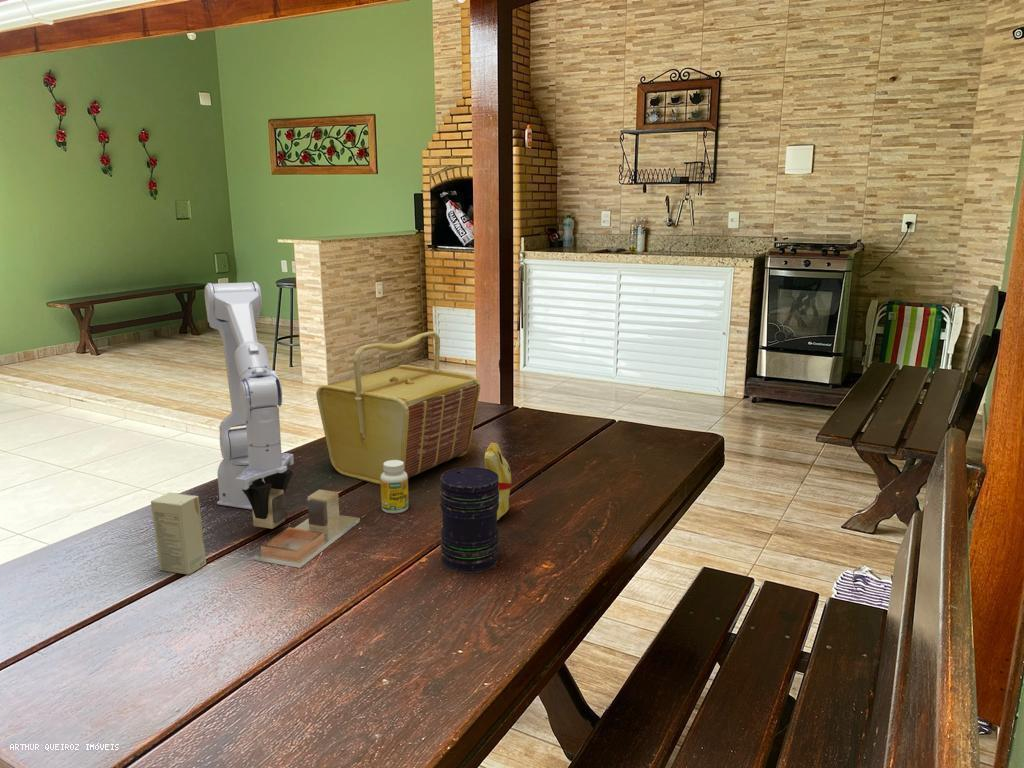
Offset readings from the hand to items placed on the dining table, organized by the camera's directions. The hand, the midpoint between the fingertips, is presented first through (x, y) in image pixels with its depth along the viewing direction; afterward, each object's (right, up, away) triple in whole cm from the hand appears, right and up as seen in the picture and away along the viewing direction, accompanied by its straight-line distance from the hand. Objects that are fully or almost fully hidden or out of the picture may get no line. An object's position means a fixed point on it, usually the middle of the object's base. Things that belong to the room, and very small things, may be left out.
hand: (268, 513), depth 139 cm
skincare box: (-10, -7, -13) cm, 18 cm away
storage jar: (+37, -6, -10) cm, 39 cm away
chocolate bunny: (+40, -2, +9) cm, 41 cm away
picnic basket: (+19, +5, +37) cm, 42 cm away
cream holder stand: (+8, -4, -3) cm, 10 cm away
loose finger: (0, -2, 0) cm, 2 cm away
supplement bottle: (+21, -1, +12) cm, 24 cm away
